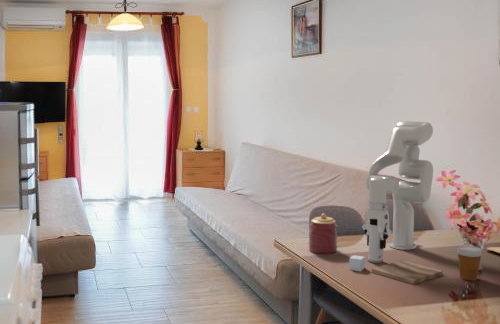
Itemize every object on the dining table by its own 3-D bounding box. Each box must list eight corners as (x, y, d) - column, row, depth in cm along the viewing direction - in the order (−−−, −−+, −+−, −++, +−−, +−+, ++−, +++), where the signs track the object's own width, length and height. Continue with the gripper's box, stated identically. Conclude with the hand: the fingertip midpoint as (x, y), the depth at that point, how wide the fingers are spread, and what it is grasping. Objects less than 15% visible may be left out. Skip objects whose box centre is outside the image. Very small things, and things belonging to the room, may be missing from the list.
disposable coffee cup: (478, 283, 230) (479, 253, 228) (453, 279, 235) (454, 249, 233) (483, 277, 238) (484, 247, 236) (458, 273, 243) (460, 244, 241)
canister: (324, 256, 267) (324, 217, 265) (303, 250, 277) (303, 213, 275) (342, 251, 276) (343, 213, 274) (321, 245, 286) (322, 209, 284)
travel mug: (383, 263, 255) (385, 218, 253) (368, 262, 257) (369, 217, 254) (383, 259, 261) (385, 215, 259) (368, 258, 263) (369, 214, 260)
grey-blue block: (353, 266, 251) (353, 255, 251) (364, 268, 249) (365, 256, 248) (349, 269, 247) (349, 257, 247) (360, 271, 245) (360, 259, 244)
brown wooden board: (401, 263, 256) (401, 260, 256) (442, 274, 241) (442, 270, 240) (371, 272, 243) (372, 268, 243) (413, 284, 228) (413, 280, 228)
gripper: (399, 208, 252) (397, 249, 254) (367, 202, 265) (366, 241, 267) (388, 210, 247) (386, 252, 249) (356, 204, 261) (355, 244, 263)
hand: (376, 246), depth 258 cm, fingers closed on travel mug, 6 cm apart
